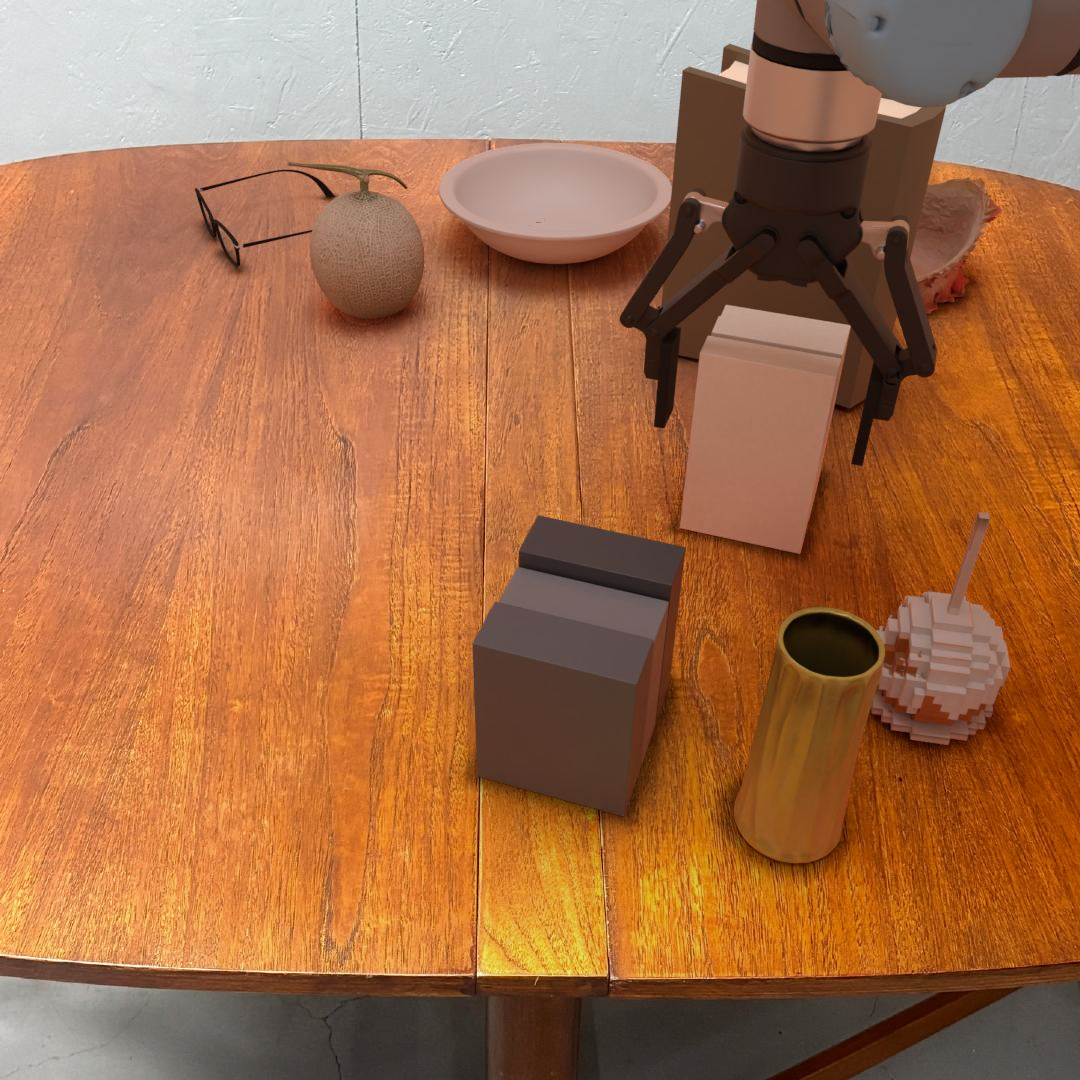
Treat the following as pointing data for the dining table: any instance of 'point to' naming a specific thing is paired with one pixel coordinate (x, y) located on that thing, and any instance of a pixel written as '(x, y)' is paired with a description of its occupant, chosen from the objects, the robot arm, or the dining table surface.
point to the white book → (756, 441)
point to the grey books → (576, 663)
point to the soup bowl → (555, 199)
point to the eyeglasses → (216, 225)
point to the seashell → (949, 237)
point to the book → (711, 166)
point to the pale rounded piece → (942, 660)
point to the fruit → (366, 249)
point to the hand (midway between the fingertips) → (759, 436)
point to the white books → (786, 339)
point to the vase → (809, 734)
